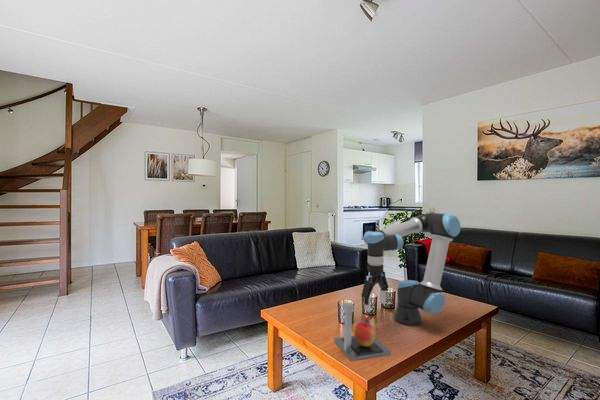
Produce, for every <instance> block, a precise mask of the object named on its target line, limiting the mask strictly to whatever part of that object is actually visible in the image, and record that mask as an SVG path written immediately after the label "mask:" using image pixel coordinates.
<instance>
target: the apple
mask: <svg viewBox="0 0 600 400" xmlns="http://www.w3.org/2000/svg"><path fill="white" fill-rule="evenodd" d="M353 336H355V339H356V341H357V342H358V343H359V344H360V345H361V346H363V347H369V346H371V345H372V344H373V343H374V341H375V339H377V333H376V330H375V328H374V327H373V325H372V324H370V323H369V324H368V323H364V322H363V321H361V322H358V323H357V324H356V325H355V328H354V335H353Z"/></svg>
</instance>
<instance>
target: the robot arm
mask: <svg viewBox="0 0 600 400" xmlns="http://www.w3.org/2000/svg"><path fill="white" fill-rule="evenodd" d="M419 233H430V234H429V236H430V238H432V239H431V244H430V249H429V252H428V258H427V261H426V267H425V271H424V274H423V275H424V276H423V280H422V281H421V282H419V281H418V280H411V279H404V280H399V281H398V283H397V302H396V303H397V304H396V305H397V306H396V309H395V312H394V314H393V320H394V321H395V322H397V323H398V324H401V325H404V324H405V326H409V325H416V326H419V325H418V324H420V323H421V324H422V316H421V312H420V310H422V311H424V312H426V313H430V314H433V315H434V314H438V313H439V312H441V311H442V310H443V308H444V307H445V304H446V298H445V295H444V294H443V288H442V287H441V283H442V278H443V274H444V267H445V266H446V265H445V264H446V260H447V254H448V250H449V247H450V246H449V245H450V243H451V242H453V240H454V237H457V236H458V235H459V234H460V233H461V221H460V220H459V218H458V217H457V216H455V215H454V214H450V213H437V212H427V213H423V214H420V215H417V216H414V217H411V218H410V219H409V220H406V221H405V222H401V223H397V224H395V225H391V226H388V227H385V228H382V229H379V230H378V229H377V230H375V231H373V230H368V231H365V232H364V234H363V241H364V243H365V244H366V245H367V272H368V273H369V275H365V276H364V278H365V279H364V284H363V288H362V293H361V297H362V298H364V301H363V302H364V311H366V312H368V313H370V312H371V297H370V296H371V294H372V292H373V289H374V287H375V286H376V285H378V286H379V288H380V290H379V293H380V294H379V300H380V301H379V303H380V304H383V305H386V303H387V302H386V301H387V300H386V299H387V298H386V297H387V295H386V292H387V291H389V284H388V281H387V276H386V271H384V254H385V253H384V252H387V251H397V250H400V249H401V248H403V246H404V239H403V237H407V236H409V235H412V234H419ZM421 324H420V325H421Z"/></svg>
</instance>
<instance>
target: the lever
mask: <svg viewBox="0 0 600 400" xmlns="http://www.w3.org/2000/svg"><path fill="white" fill-rule="evenodd" d="M362 319H363V323H368V324H370V320H371V317H370V315H368V314H365V315H364V316H363V318H362Z"/></svg>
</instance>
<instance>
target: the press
mask: <svg viewBox="0 0 600 400" xmlns="http://www.w3.org/2000/svg"><path fill="white" fill-rule="evenodd" d="M342 306H343V307H342V309H343V311H344V329H343V330H344V333H343V336H340V337H334V338H333V339H334V340H333V341H334V342H333V343H335V344H336V345H337V347H338V348H339V349H340V350H341V351H342V352H343V353H344V354H345V356H346V357H347V358H348V359H349V360H350V362H352V361H359V360H365V359H370V358H371V359H372V358H377V357H383V356H384V355H385V356H389V355H388V354H391V353H392V351H391V350H390V349H388V347H387V346H385V345H384V344H383V343H382V342H380V341H379V340H378V339H377V338H376V339H375V341H374V343H373V344H372V345H371V346H369V347H363V346H361V345H360V344H359V343H358V342H357V341H356V339H355V335H352V333H353V332H352V330H353V329H352V328H353V313H355V304H353V303H352V302H345V303H344V302H343V304H342ZM391 355H392V354H391Z"/></svg>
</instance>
